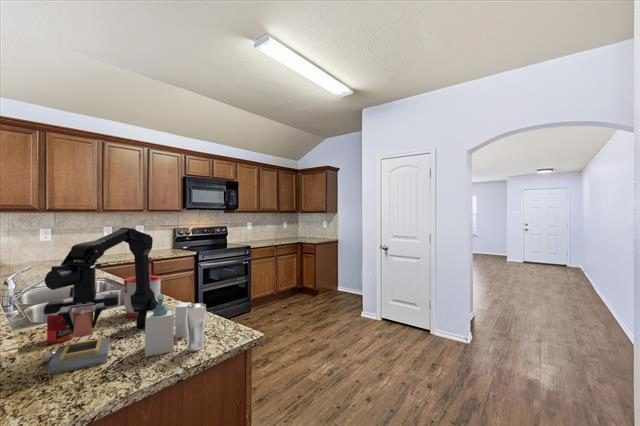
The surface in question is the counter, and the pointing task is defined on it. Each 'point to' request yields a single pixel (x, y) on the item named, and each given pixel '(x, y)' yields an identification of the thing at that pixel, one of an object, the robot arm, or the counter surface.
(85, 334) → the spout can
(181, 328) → the skincare box
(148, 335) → the soap bottle
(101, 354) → the grey and gold frame
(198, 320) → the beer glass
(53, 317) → the canned food
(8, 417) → the counter surface
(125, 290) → the citrus juicer
